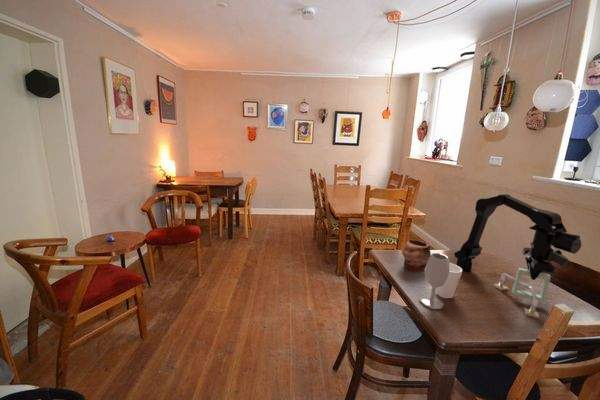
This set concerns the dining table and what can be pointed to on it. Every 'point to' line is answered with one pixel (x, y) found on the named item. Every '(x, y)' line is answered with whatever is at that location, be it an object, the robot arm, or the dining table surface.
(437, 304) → the wineglass
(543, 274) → the mint green frame
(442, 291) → the foam cup
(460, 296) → the dining table surface
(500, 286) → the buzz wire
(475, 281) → the dining table surface
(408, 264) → the decorative planter
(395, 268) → the dining table surface
